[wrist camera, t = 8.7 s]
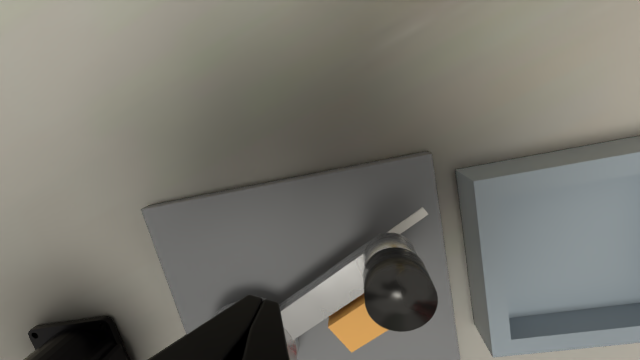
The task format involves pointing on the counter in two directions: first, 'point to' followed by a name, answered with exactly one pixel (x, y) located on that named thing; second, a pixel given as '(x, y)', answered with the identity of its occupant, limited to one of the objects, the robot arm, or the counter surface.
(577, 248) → the tray
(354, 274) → the crank
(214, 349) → the robot arm
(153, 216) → the crank base
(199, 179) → the counter surface
